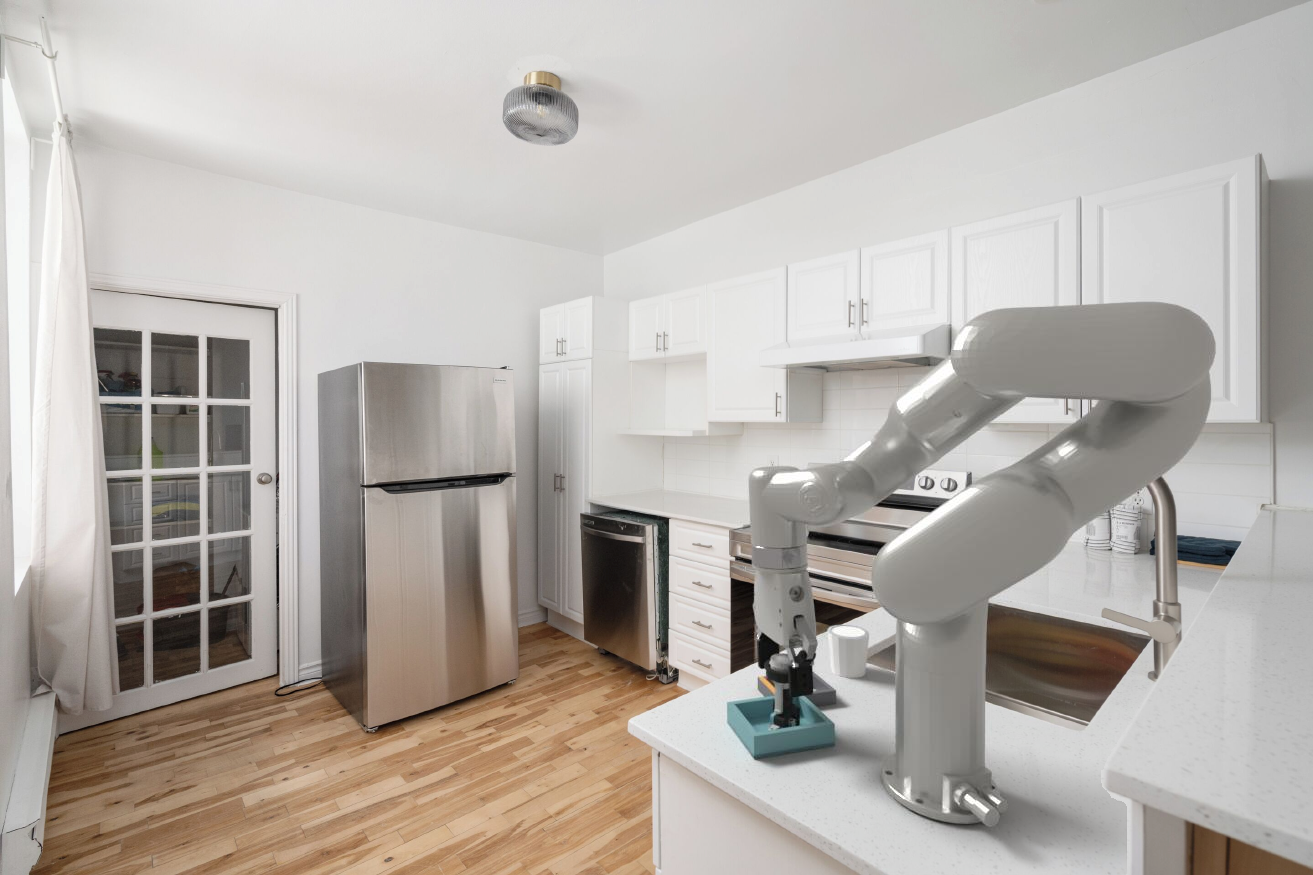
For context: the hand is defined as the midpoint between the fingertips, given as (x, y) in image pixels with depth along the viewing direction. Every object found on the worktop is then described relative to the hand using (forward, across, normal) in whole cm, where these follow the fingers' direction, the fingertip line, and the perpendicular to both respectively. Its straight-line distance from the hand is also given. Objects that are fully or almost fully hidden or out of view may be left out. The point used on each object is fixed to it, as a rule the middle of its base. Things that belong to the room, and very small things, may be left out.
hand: (784, 680), depth 83 cm
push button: (+7, +1, 0) cm, 8 cm away
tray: (+8, +1, +1) cm, 8 cm away
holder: (+8, +10, -7) cm, 15 cm away
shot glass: (+8, +16, -20) cm, 27 cm away
